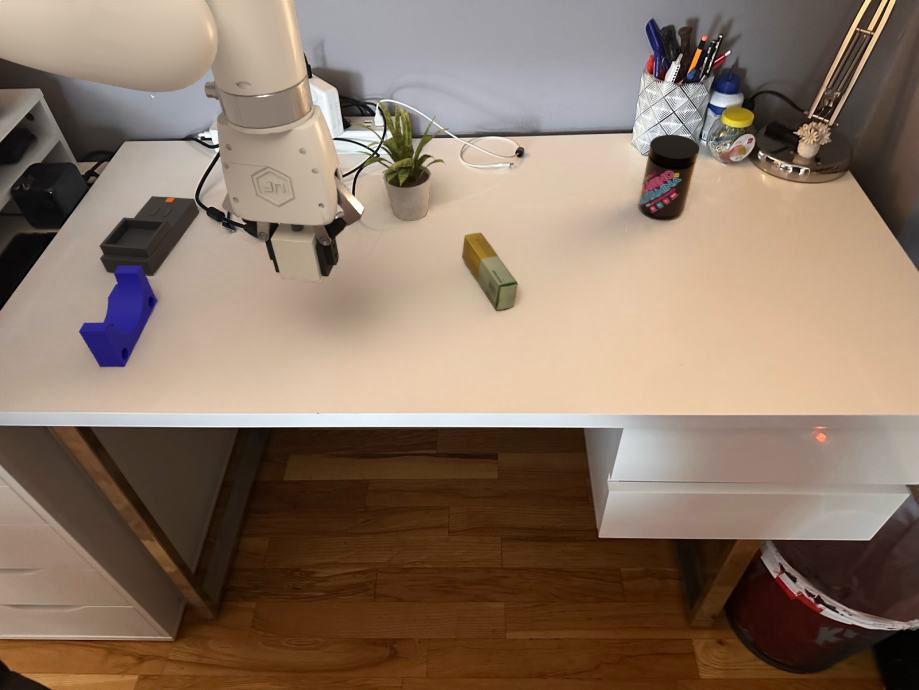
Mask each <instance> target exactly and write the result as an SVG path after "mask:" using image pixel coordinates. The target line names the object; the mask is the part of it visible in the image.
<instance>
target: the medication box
mask: <svg viewBox="0 0 919 690" xmlns="http://www.w3.org/2000/svg"><path fill="white" fill-rule="evenodd" d="M462 247H463V249H462V255H461V258H462V259H463V261H464V263H465V264H466V266H467V267H468V269H469V271H470V272H471V274H472V275H473V277H474V278H475V280H476V281H477V283H478V284H479V286H480V287H481V289H482V291H483V292H484V293H485V296H486V297H487V298H488V300H489V301H490V303H491V304H492V306H493V307H494V309H495V311H504V310H509V309H512V308H514V306H515V301H516V296H517V291H518V286H519V283H518V281H517V280H516V278H515V277H514V275H513V274H512V273H511V272H510V270H509V268H508V267H507V266H506V264H505V263H504V262H503V261H502V258H500V256H499V255H498V253H497V252H496V251H495V249H494V248H493V246H492V245H491V244H490V242H489V241H488V239H486V237H485V235H484V234H483V233H482V232H472V233H468V234H465V235H464V238H463V246H462Z"/></svg>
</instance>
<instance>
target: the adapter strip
mask: <svg viewBox="0 0 919 690" xmlns="http://www.w3.org/2000/svg"><path fill="white" fill-rule="evenodd" d="M199 213H200V210H199V208H198V204H197V203H196V200H195V198H188V197H187V198H186V197H175V196H173V197H171V196H156V195H151V197H150V198H149V199H148V200H147V201H146V203H144V204H143V206H142V208H141V209H139V211H138V212H137V213H136V215H135V216H134V217H126V216H125V217H123V218H122V219H120V221H119V222H118V223H117V224H116V225H115V227H114V228H113V229H112V230H111V231H110V233H109V234H108V235H107V236H106V237H105V238H104V240H103V241H102V242H101V243H100V245H99V248H100V250H101V251H102V252H101V253H102V255H101V256H100V258H99V259H100V261H101V263H102V265H103V267H104V269H105V271H106V272H107V273H113V274H114V272H115V270H116V269H117V267H118V266H142V269H143V271H144V273H145V275H146V276H155V274H156V273H157V271H158V270H159V268H160V267H161V265H163V263H164V261H165V260H166V259H167V257H168V256H169V254H170V253H171V252H172V250H173V249H174V248H175V246H176V245H177V243H179V241H180V240H181V238H182V237H183V235H184V234H185V233H186V231H187V230H188V229H189V228H190V225H191V224H192V223H193V222H194V220H195V219H196V217H197V216H198V215H199Z"/></svg>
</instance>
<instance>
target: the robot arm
mask: <svg viewBox="0 0 919 690" xmlns="http://www.w3.org/2000/svg"><path fill="white" fill-rule="evenodd" d="M301 38H302V37H301V31H300V26H299V21H298V15H297V11H296V6H295V0H0V59H2V60H5V61H9V62H12V63H15V64H18V65H20V66H21V65H22V66H25V67H28V68H31V69H35V70H39V71H41V72H46V73H50V74H54V75H58V76H62V77H67V78H71V79H76V80H82V81H87V82H92V83H97V84H102V85H108V86H112V87H118V88H123V89H127V90H133V91H139V92H146V93H147V92H149V93H170V92H175V91H179V90H184V89H187V88H188V87H191V86H193V85H194V84H196V83H197V82H199V81H200V80H201V79H203V77H205V75H206V74H207V73H208V72H209V71H210V69H211V71H212V76H213V81H206V82H205V84H204V93H205V96H206V98H207V99H208V98H209V99H215V100H216V101H218V102H219V106H220V108H221V112H220V113H219V114H218V115H217V118H216V130H217V139H218V140H217V142H218V149H219V150H218V151H219V157H220V164H221V168H222V169H221V170H222V174H223V179H224V183H225V188H226V192H227V193H226V195H225V197H224V199H223V201H222V204H221V206H222V209H223V210H225V211H227V212H228V213H230V214H232V215H233V216H235V217H237V218H240V219H241V220H242V222H243V223H244V224H245V225H247V226H248V227H250V229H252V230H253V231H255V232H256V234H257V237H258V239H259V240H261V241H263V242H264V243H265V247H266V250H267V254H268V257H269V260H270V261H272V263H273V267H274V271H275V273H277V274H280V271H279V268H278V264H277V260H276V257H275V253H274V249H273V246H272V242H271V238H272V236H273V234H274V233H275V231H276V229H277V228H278V226H279V224H280V223H282V224H295V225H311V226H312V227H313V229H314V232H315V234H316V236H317V238H318V242H317V244H316V252H317V257H318V261H319V266H320V270H321V275H322V276H323V277H325V278H328V277H329V276H330V274H331V272H332V270H333V268H334V266H335V267H336V266H337V265H338V263H339V259H340V253H339V247H338V243H337V238H336V237H337V236H339V234H341V233H342V232H343V231H344V230H345V228H347V227H350V226H351V225H353V224H355V223H356V222H359V221H360V220H361V219H362V217H363V215H364V213H365V207H364V206H363V204H362V203H361V202H360V201H359V200H358V199H357V198H356V196H355V195H353V193H352V192H351V191H350V189H348V188H347V186H346V185H345V182H344V178H343V172H342V169H341V163H340V160H339V156H338V153H337V149H336V146H335V142H334V139H333V136H332V133H331V130H330V128H329V125H328V122H327V121H326V118H325V115H324V113H323V111H322V109H321V106H320V105H318V104H314V102H313V101H314V100H313V96H312V90H311V87H310V86H311V85H310V80H309V74H308V70H307V63H306V59H305V53H304V47H303V42H302V39H301ZM338 206H339V207H340V209H341V211H338Z"/></svg>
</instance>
